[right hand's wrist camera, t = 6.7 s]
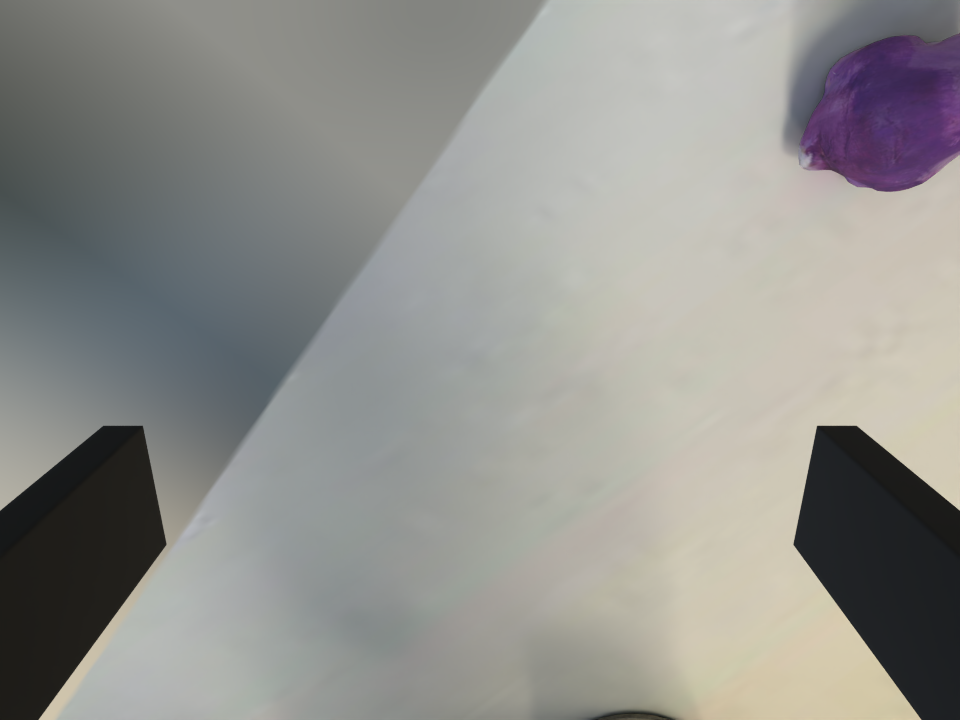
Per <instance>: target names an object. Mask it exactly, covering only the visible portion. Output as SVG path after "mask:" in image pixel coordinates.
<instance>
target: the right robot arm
mask: <svg viewBox="0 0 960 720" xmlns="http://www.w3.org/2000/svg"><path fill="white" fill-rule="evenodd" d="M165 546H166V540H165V535H164V530H163V525H162V520H161V515H160V510H159V505H158V500H157V495H156V490H155V484H154V480H153V474H152V470H151V465H150V459H149V455H148V449H147V445H146V439H145V434H144V429H143V426H103V427H101V428H100V429H99V430H98V431H97V432H95V433H94V434H93V435H92V436H91V437H89V438H88V439H87V440H86V441H84V442H83V443H82V444H81V445H80V446H78V447H77V448H76V449H75V450H74V451H72V452H71V453H70V454H69V455H67V456H66V457H65V458H64V459H63V460H61V461H60V462H59V463H58V464H57V465H55V466H54V467H53V468H52V469H50V470H49V471H48V472H47V473H46V474H44V475H43V476H42V477H41V478H39V479H38V480H37V481H36V482H35V483H33V484H32V485H31V486H30V487H29V488H27V489H26V490H25V491H24V492H22V493H21V494H20V495H19V496H18V497H16V498H15V499H14V500H13V501H11V502H10V503H9V504H8V505H7V506H5V507H4V508H3V509H2V510H1V511H0V720H39V718H40V717H41V716H42V714H43V713H44V711H45V710H46V709H47V707H48V706H49V704H50V703H51V702H52V700H53V699H54V698H55V696H56V695H57V693H58V692H59V691H60V689H61V688H62V687H63V685H64V684H65V683H66V681H67V680H68V679H69V677H70V676H71V675H72V673H73V672H74V670H75V669H76V668H77V666H78V665H79V664H80V662H81V661H82V659H83V658H84V657H85V655H86V654H87V653H88V651H89V650H90V649H91V647H92V646H93V644H94V643H95V642H96V640H97V639H98V638H99V636H100V635H101V634H102V632H103V631H104V629H105V628H106V627H107V625H108V624H109V623H110V621H111V620H112V618H113V617H114V616H115V614H116V613H117V612H118V610H119V609H120V608H121V606H122V605H123V603H124V602H125V601H126V599H127V598H128V597H129V595H130V594H131V592H132V591H133V590H134V588H135V587H136V586H137V584H138V583H139V582H140V580H141V579H142V577H143V576H144V575H145V573H146V572H147V571H148V569H149V568H150V567H151V565H152V564H153V562H154V561H155V560H156V558H157V557H158V556H159V554H160V553H161V552H162V550H163V549H164V547H165ZM794 546H795V547H796V549H797V550H798V552H799V553H800V554H801V556H802V557H803V558H804V560H805V561H806V562H807V564H808V565H809V567H810V568H811V569H812V571H813V572H814V573H815V575H816V576H817V577H818V579H819V580H820V582H821V583H822V584H823V586H824V587H825V588H826V590H827V591H828V593H829V594H830V595H831V597H832V598H833V599H834V601H835V602H836V603H837V605H838V606H839V608H840V609H841V610H842V612H843V613H844V614H845V616H846V617H847V618H848V620H849V621H850V623H851V624H852V625H853V627H854V628H855V629H856V631H857V632H858V634H859V635H860V636H861V638H862V639H863V640H864V642H865V643H866V644H867V646H868V647H869V649H870V650H871V651H872V653H873V654H874V655H875V657H876V658H877V659H878V661H879V662H880V664H881V665H882V666H883V668H884V669H885V670H886V672H887V673H888V675H889V676H890V677H891V679H892V680H893V681H894V683H895V684H896V685H897V687H898V688H899V690H900V691H901V692H902V694H903V695H904V696H905V698H906V699H907V700H908V702H909V703H910V705H911V706H912V707H913V709H914V710H915V711H916V713H917V714H918V716H919V717H920V718H921V720H960V511H959V510H958V509H957V508H956V507H955V506H953V505H952V504H951V503H950V502H949V501H947V500H946V499H945V498H944V497H942V496H941V495H940V494H939V493H938V492H936V491H935V490H934V489H933V488H931V487H930V486H929V485H928V484H927V483H925V482H924V481H923V480H922V479H921V478H919V477H918V476H917V475H916V474H914V473H913V472H912V471H911V470H910V469H908V468H907V467H906V466H905V465H904V464H902V463H901V462H900V461H899V460H897V459H896V458H895V457H894V456H893V455H891V454H890V453H889V452H888V451H887V450H885V449H884V448H883V447H882V446H880V445H879V444H878V443H877V442H876V441H874V440H873V439H872V438H871V437H869V436H868V435H867V434H866V433H865V432H863V431H862V430H861V429H860V428H859V427H857V426H817V429H816V434H815V439H814V444H813V449H812V454H811V459H810V464H809V469H808V474H807V479H806V484H805V489H804V495H803V500H802V505H801V510H800V515H799V520H798V525H797V530H796V535H795V540H794ZM597 720H669V719H666V718H663V717H659V716H654V715H647V714H620V715H613V716H608V717H604V718H600V719H597Z"/></svg>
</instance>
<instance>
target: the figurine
mask: <svg viewBox="0 0 960 720" xmlns="http://www.w3.org/2000/svg"><path fill="white" fill-rule="evenodd" d="M959 155H960V33H959V34H957V35H954V36H952V37H949V38H947V39H945V40H943V41H937V42H930V43H925V42H924V41H923V40H921V39H920V38H919V37H917V36H909V35H902V36H895V37H890V38H886V39H883V40H880V41H877V42H874V43H872V44H870V45H868V46H865V47H863V48H861V49H858V50H856V51H853V52H851V53H849V54H848V55H846V56H844V57H842V58H840V59H839V60H838V62H837V63H836V64H835V65H834V66H833V67H832V68H831V69H830V72H829V74H828V76H827V80H826V83H825V93H824V95H823V98H822V100H821V101H820V103H819V104H818V106H817V107H816V109H815V110H814V112H813V114H812V116H811V118H810V121H809V123H808V125H807V128H806V130H805V132H804V134H803V137H802V139H801V142H800V145H799V164H800V166H801V167H802V168H803V169H806V170H832V171H835V172H837V173H839V174H841V175H843V176H845V178H846V179H847V181H848V182H849V183H851V184H853V185H855V186H857V187H867V188H873V189H875V190H877V191H885V192H893V191H901V190H905V189H909V188H912V187H914V186H917V185H920V184H922V183H924V182H925V181H927V180H928V179H929V178H931V177H932V176H933V175H935V174H936V173H937V172H939V171H940V170H941V169H942V168H943V167H944V166H946V165H947V164H948V163H949V162H950V161H952V160H953V159H954V158H956V157H957V156H959Z"/></svg>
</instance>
